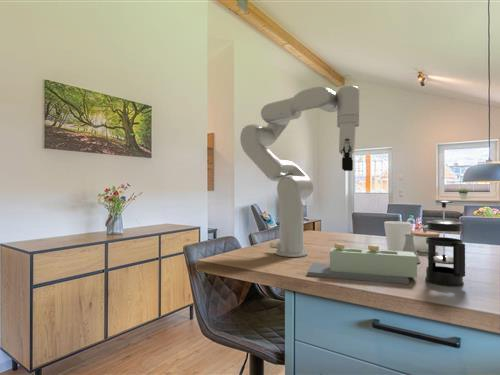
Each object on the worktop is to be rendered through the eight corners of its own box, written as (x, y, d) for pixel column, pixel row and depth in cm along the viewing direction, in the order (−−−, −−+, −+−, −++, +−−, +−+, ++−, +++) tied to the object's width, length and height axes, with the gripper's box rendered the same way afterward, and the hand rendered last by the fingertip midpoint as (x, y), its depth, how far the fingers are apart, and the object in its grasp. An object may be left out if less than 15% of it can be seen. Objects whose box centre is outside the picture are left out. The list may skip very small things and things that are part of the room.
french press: (416, 277, 98) (416, 200, 98) (443, 275, 100) (443, 199, 100) (447, 289, 87) (447, 201, 87) (477, 287, 88) (477, 201, 88)
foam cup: (414, 255, 129) (414, 222, 129) (406, 259, 123) (406, 224, 123) (389, 252, 136) (389, 220, 136) (380, 255, 129) (380, 222, 129)
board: (307, 275, 100) (307, 246, 100) (313, 266, 112) (313, 239, 112) (409, 284, 91) (409, 251, 91) (403, 272, 104) (403, 243, 104)
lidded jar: (445, 253, 133) (445, 230, 133) (418, 253, 134) (418, 230, 134) (430, 248, 144) (430, 227, 144) (406, 248, 144) (406, 227, 144)
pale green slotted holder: (329, 271, 101) (329, 251, 101) (331, 265, 108) (331, 247, 108) (416, 277, 93) (416, 256, 93) (413, 271, 100) (413, 251, 100)
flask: (423, 264, 115) (423, 235, 115) (401, 263, 116) (401, 235, 116) (417, 260, 122) (417, 232, 122) (396, 259, 123) (396, 232, 123)
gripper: (338, 126, 127) (338, 171, 127) (335, 118, 111) (334, 169, 111) (359, 125, 124) (359, 171, 125) (358, 116, 108) (358, 168, 108)
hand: (347, 170), depth 118 cm, fingers open, 9 cm apart
